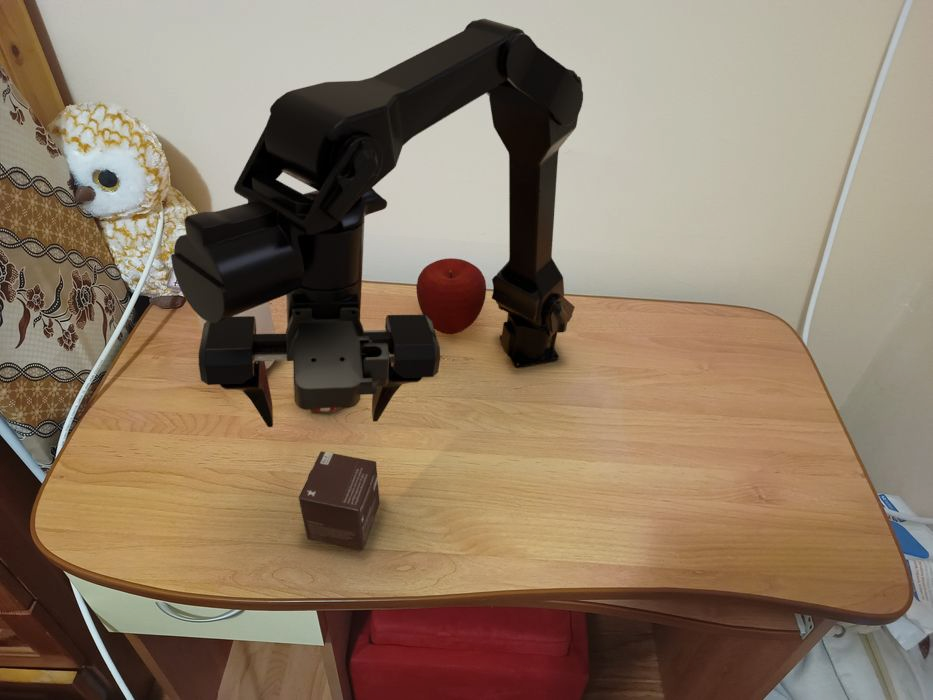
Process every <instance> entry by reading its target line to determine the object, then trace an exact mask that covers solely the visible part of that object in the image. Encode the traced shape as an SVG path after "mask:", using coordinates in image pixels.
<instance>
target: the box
mask: <svg viewBox="0 0 933 700" xmlns="http://www.w3.org/2000/svg"><path fill="white" fill-rule="evenodd" d="M298 502H299V506H300V511H301V515H302V520H303V525H304V526H303V527H304V530H305V535H306V539H307V540H308V541H312V542H313V541H314V542H319V543H322V544H323V543H324V544H327V545H333V546H339V547H344V548H348V549H353V550H358V551H363V550H364V548H365V546H366V543H367V541H368V538H369V536H370V532H371V530H372V528H373V525H374V522H375V520H376V519H375V518H376V516H377V513H378V509H379V507H380V504H381V503H380V502H381V501H380V490H379V479H378V467H377V461H375V460H371V459H365V458H361V457H355V456H349V455H343V454H339V453H333V452H329V451H323V450H322V451H320V452H319V454H318V456H317V457H316V460H315V463H313V466H312V468H311V470H310V471H309V473H308V475H307V479H306V481H305V483H304V485H303V486H302V490H301V491H300V493H299V495H298Z"/></svg>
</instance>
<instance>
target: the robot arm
mask: <svg viewBox="0 0 933 700" xmlns="http://www.w3.org/2000/svg"><path fill="white" fill-rule="evenodd" d="M582 81H583V80H582V78H581V76H578V74H577V72H575V70H573V69H569V68H567V67H565V66H564V65H562V64H561V63H560V62H559V61H557V60H556V59H555V58H553V57H552V56H550V55H549V54H548V53H547V52H545V51H544V50H543V49H541V48H539V46H538V45H537V44H536V43H535V41H534V40H533V39H532V37H531V36H530V35H528V34H527V33H525V32H524V30H523V29H522V28H520V27H515V26H512V25H509V24H505V23H502V22H498V21H495V20H491V19H488V18H479V19H476V20H471V21H470V22H469V23H468V24H467V25H466V26H465V28H464V30H462V31H460V32H459V33H457V34H455V35H452V36H450V37H448V38H446V39H445V40H443V41H440V42H438V43H437V44H435V45H433V46H431V47H429V48H427V49H425V50H423V51H421V52H419V53H417V54H416V55H413V56H411V57H409V58H408V59H406V60H404V61H401V62H400V63H397V64H396V65H393V66H392V67H390V68H387V69H386V70H384V71H382V72H380V73H378V74H376V75H374V76H372V77H368V78H364V79H361V80H360V79H359V80H341V81H340V80H339V81H325V82H320V83H317V84H313V85H308V86H304V87H300V88H296V89H292V90H289V91H287V92H285V93H284V94H282V95H281V96H280V97H278V98H276V100H275V101H274V102H273V104H272V105H271V106H270V108H269V113H270V114H269V117H268V120H267V122H266V125H265V127H264V129H263V131H262V132H261V134H260V137H259V139H258V140H257V142H256V144H255V146H254V148H253V149H252V152H251V154H250V156H249V158H248V160H247V161H246V163H245V165H244V167H243V169H242V171H241V173H240V174H239V177H238V179H237V181H236V183H234V187H233V190H234V193H235V194H237V195H239V196H240V197H242V198H243V199H245V200H247V203H243V204H239V205H237V206H232V207H228V208H224V209H221V210H216V211H202V212H198V213H197V212H196V213H194V214H190V215H187V216H186V217H185V218H184V228H185V234H184V235H180V236H178V238H176V240H175V243H174V247H173V248H174V249H173V250H174V251H173V253H171V255H170V259H171V265H172V269H173V274H174V276H175V279H176V282H177V285H178V287H179V290H180V291H181V293H182V295H183V296H184V298H185V300H186V302H187V304H188V305H189V306H190V307H191V309H192V310H193V311H194V312H195V314H196V315H197V314H198V315H199V316H200V317H201V318H202V319H204V320H206V322H205V324H204V326H203V332H202V331H201V338H200V344H199V349H198V368H199V369H198V370H199V376H200V377H199V378H200V381H201V382H202V383H204V384H206V386H219V385H220V387H221V388H222V389H224V390H226V391H227V390H228V391H229V390H236V391H242V392H243V393H244V394H245V395H246V397H247V398H249V400H250V401H251V403H252V404H253V406H254V407H255V409H256V411H257V412H258V413H259V415H260V417H261V418H262V420H263V422H264V423H265V425H266V426H267V428H273V427H274V411H273V400H272V395H271V388H270V383H269V377H268V374H267V369H266V367H265V361H274V362H275V361H287V362H292V363H293V364H292V366H293V371H292V372H293V394H294V396H293V397H294V402H295V405H296V406H297V407H298V408H299V409H302V410H305V411H314V410H315V409H317V408H335V407H340V409H351V408H354V407H356V406H357V405H358V404H359V403H360V400H361V397H362V396H363V395H372V398H371V418H372V422H373V423H374V422H375V423H377V422H378V421H379V420H380V418H381V417H382V415H383V413H384V412H385V410H386V408H387V407H388V405H389V404H390V401H391V400H392V398H393V396H395V393H396V392H397V391H398V390H399V389H400V387H402V385H406V384H411V383H413V384H414V383H419V382H420V381H421V380H423V378H434V377H435V376H436V375H437V374H438V373H439V370H440V365H441V364H440V363H441V347H440V344H439V343H440V342H439V341H438V336H437V334H436V330H435V329H434V327H433V324H432V321H431V320H430V319H429V318H428V317H427V316H426V315H423V314H387V315H386V317H385V323H384V329H366V330H365V329H364V327H363V323H362V322H361V309H362V308H361V306H362V283H363V264H364V243H365V241H364V239H365V219H366V218H365V217H366V216H368V215H371V214H373V213H377V212H381V211H383V210H385V209H387V206H388V201H387V200H386V198H383V197H382V196H381V195H380V194H379V193H378V192H377V191H375V189H374V188H375V186H376V185H377V184H378V183H379V182H381V181H382V180H383V179H384V178H385V177H387V175H388V174H389V173H391V172H392V171H393V170H394V169H395V168H396V167H397V164H398V162H399V158H400V155H401V153H402V149H403V147H404V146H405V145H406V144H407V143H408V142H409V141H410V140H412V139H413V138H414V137H416V136H418V135H419V134H421V133H423V132H424V131H426V130H427V129H429V128H431V127H432V126H434V125H436V124H438V123H439V122H440V121H442V120H444V119H446V118H447V117H449V116H450V115H452V114H454V113H457V111H459V110H461V109H463V108H464V107H465V106H468V105H469V104H470V103H472V102H474V101H475V100H477V99H479V98H480V97H482V96H483V95H487V96H488V97H489V98H488V100H489V101H488V102H489V106H490V113H491V120H492V125H493V129H494V130H495V132H496V134H497V135H498V137H499V139H500V141H501V142H502V145H504V147H505V149H506V151H507V153H508V207H509V208H508V231H509V232H508V238H509V240H508V241H509V242H508V245H509V247H508V249H509V251H508V252H509V253H508V254H509V255H508V261H507V262H506V263H505V264H504V265H503V266H502V268H501V269H500V270H498V272H497V274H496V275H494V276H493V277H492V278H491V282H492V285H493V286H492V287H493V290H492V295H491V299H492V300H494V301H495V303H496V304H497V307H498V309H499V310H501V311H504V312H506V313H507V318H506V321H504V322H503V323H502V330H501V331H502V332H501V334H500V336H499V341H500V346H501V347H502V349H503V351H504V353H505V355H506V356H507V357H508V358H509V360H510V361H511V364H512V365H513V367H514V368H516V369H520V368H525V367H531V366H532V367H533V366H536V365H542V364H546V363H552V362H557V361H558V360H559V358H560V357H559V354H558V352H557V351H556V349H555V346H556V341H557V338H558V337H557V336H558V333H564V332H566V331H567V327H568V323H569V322H570V321H571V319H572V317H573V314H574V311H575V307H576V306H575V305H574V304H572V303H571V302H570V301H569V300H568V299H567V298H565V284H564V283H565V281H564V275H563V274H562V273H561V271H560V269H559V268H558V266H557V264H556V262H555V261H554V259H553V256H552V255H553V240H554V239H553V238H554V225H555V208H556V192H557V180H558V179H557V177H558V162H559V151H560V149H561V147H562V146H563V145H564V144H565V142H566V141H567V140H568V138H569V137H570V136H571V135H572V133H574V131H575V130H576V128H577V125H578V119H579V115H580V113H581V109H582V107H583V102H584V91H583V82H582ZM283 173H284V174H286V175H288V176H290V177H292V178H294V179H295V180H297V181H299V182H301V183H303V184H305V185H307V186H308V187H311V188H312V189H314V190H313V191H309V192H305V193H302V192H300V191H299V190H296V189H294V188H293V187H291V186H289V185H287V184H285V183H284V182H282V181H279V180H278V178H279V177H280V176H281V175H282V174H283ZM284 296H285V303H286V329H285V333H275V334H256V319H255V317H254V316H238V317H232V316H234V315H237V314H239V313H242V312H244V311H247V310H249V309H252V308H254V307H257V306H259V305H262V304H264V303H267V302H272V301H274V300H277V299H280V298H282V297H284Z"/></svg>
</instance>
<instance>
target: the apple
mask: <svg viewBox="0 0 933 700" xmlns="http://www.w3.org/2000/svg"><path fill="white" fill-rule="evenodd" d="M415 287H416V288H415V289H416V297H417V303H418V306H419V309H420V311H421V313H422V314H421V315H426V316H427V317H428V318H429V319H430V320H431V321H432V324H433V327H434V331H437V332H438V333H441V334H443V335H456V334H459V333H462V332H464V331H465V330H467V329H468V328H469V327H471V326H472V325H473V324H474V322H476V320H477V319H478V317H479V316H480V314H481V311H482V310H483V307H484V304H485V301H486V295H487V283H486V279H485V276H484V274H483V272H482V271H481V269H480V268H479V267H477V266H476V265H475V264H473V263H471V262H469V261H467V260H465V259H461V258H451V257H449V258H441V259H438V260H436V261H433V262H431V263H429V264H428V265H426V266H425V267H424V268H423V269H422V270H421V272H420V273H419V275H418V277H417V281H416V286H415Z"/></svg>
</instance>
